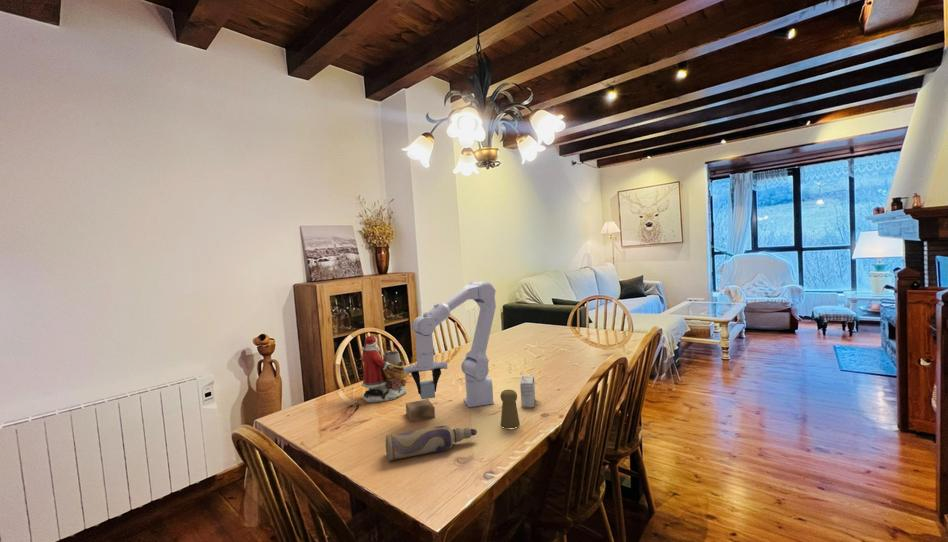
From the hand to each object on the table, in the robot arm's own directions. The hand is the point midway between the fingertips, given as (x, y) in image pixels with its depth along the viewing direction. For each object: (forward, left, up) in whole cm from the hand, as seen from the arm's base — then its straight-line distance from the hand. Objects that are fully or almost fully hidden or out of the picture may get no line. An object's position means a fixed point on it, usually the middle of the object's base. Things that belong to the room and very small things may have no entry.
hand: (427, 391), depth 133 cm
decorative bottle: (+3, +24, -9) cm, 26 cm away
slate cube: (0, 0, -1) cm, 1 cm away
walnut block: (+2, -2, -9) cm, 9 cm away
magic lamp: (+8, -40, -9) cm, 42 cm away
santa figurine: (+13, -26, -9) cm, 30 cm away
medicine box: (-36, +2, -9) cm, 37 cm away
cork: (-24, +16, -9) cm, 30 cm away
